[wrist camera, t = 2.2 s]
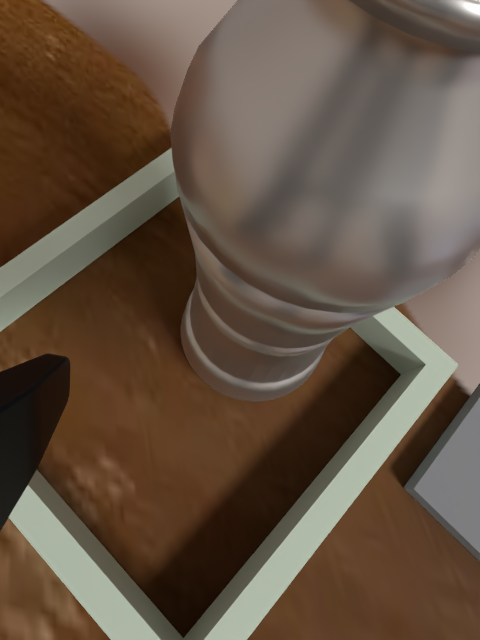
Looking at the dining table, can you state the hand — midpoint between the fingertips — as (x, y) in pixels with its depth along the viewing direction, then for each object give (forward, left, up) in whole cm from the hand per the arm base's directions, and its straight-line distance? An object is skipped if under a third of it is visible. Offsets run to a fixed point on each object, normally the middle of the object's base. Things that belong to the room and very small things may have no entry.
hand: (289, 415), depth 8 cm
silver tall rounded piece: (+4, +3, -13) cm, 14 cm away
